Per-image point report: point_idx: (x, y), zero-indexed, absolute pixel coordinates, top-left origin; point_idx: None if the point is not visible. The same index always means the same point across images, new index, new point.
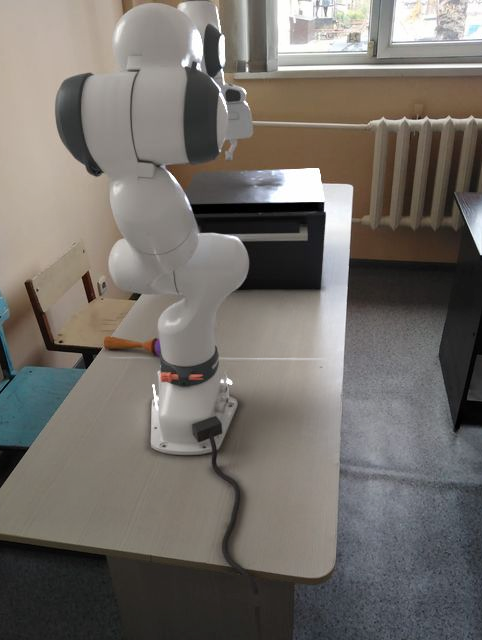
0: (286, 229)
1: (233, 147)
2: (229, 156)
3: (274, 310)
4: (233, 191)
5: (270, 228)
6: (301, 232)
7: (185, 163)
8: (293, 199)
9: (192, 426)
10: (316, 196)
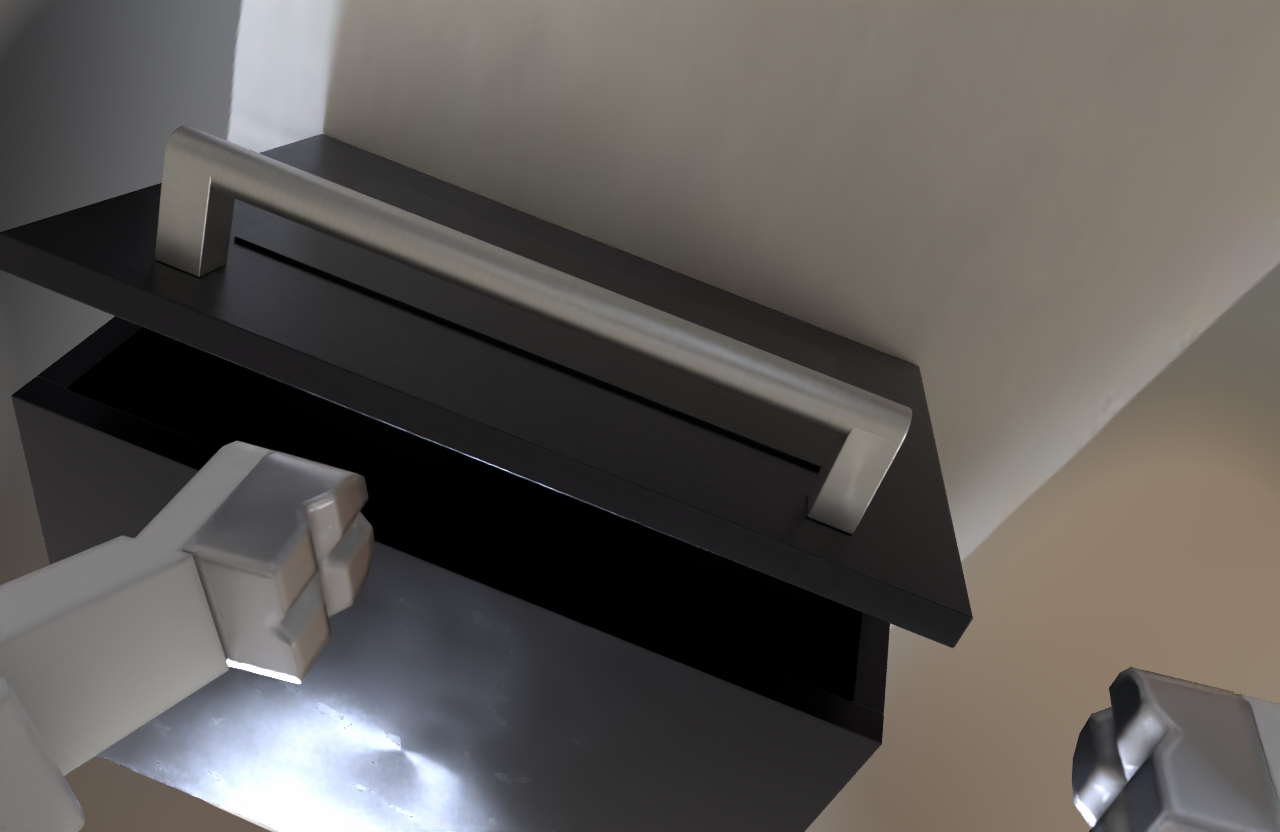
0: (299, 296)
1: (26, 607)
2: (247, 497)
3: (561, 17)
4: (521, 739)
5: (389, 335)
6: (199, 180)
7: (1248, 696)
8: None
9: None
10: (65, 480)
